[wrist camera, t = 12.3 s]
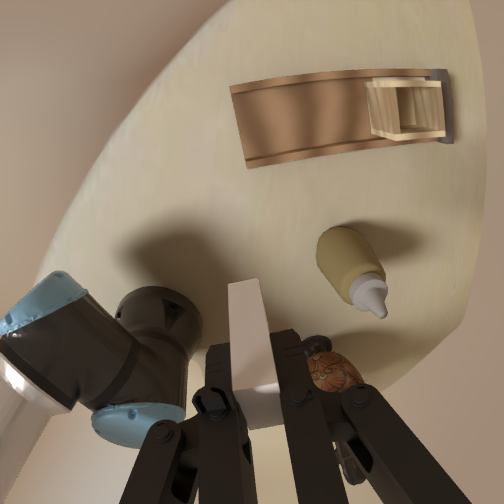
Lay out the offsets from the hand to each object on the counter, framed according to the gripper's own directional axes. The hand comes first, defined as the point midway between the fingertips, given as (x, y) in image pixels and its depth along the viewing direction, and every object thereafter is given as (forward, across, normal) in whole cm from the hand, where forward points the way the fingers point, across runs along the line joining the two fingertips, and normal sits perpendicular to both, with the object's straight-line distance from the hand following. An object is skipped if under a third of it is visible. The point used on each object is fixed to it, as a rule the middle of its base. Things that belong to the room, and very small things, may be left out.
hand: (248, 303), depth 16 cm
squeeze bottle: (+30, +13, -14) cm, 35 cm away
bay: (+29, +17, +6) cm, 34 cm away
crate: (+28, +24, +6) cm, 37 cm away
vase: (+30, +8, -35) cm, 47 cm away
